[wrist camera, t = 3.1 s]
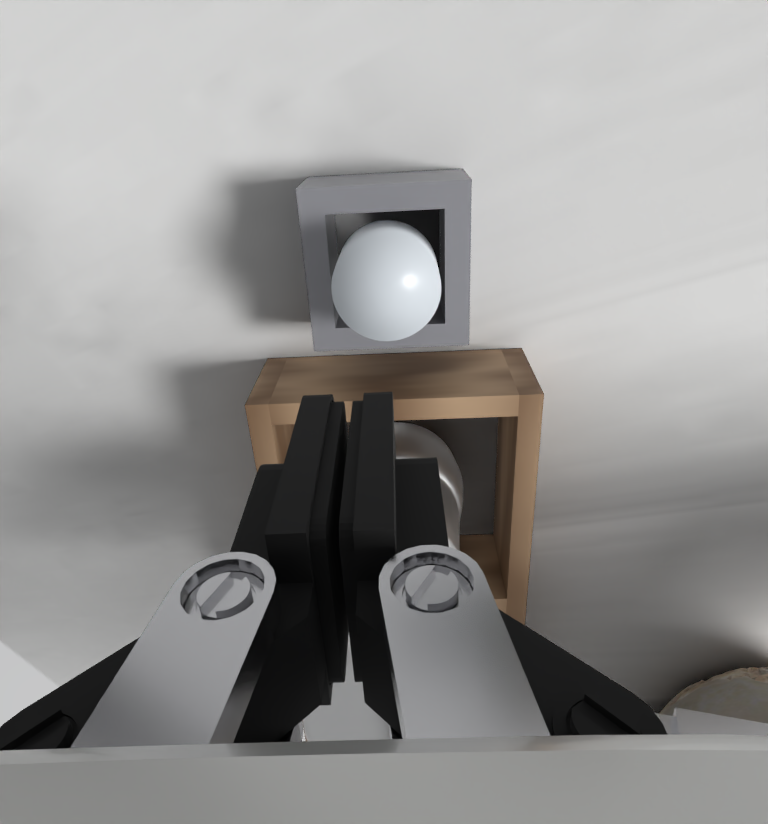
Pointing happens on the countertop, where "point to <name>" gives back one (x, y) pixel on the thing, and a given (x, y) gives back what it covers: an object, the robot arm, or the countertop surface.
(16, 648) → the countertop surface
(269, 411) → the walnut bottle rack
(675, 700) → the ceramic bowl
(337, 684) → the plastic bottle
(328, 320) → the button housing
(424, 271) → the white domed push button
